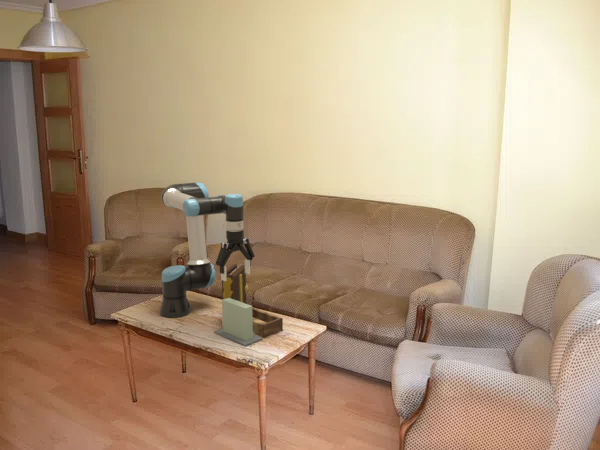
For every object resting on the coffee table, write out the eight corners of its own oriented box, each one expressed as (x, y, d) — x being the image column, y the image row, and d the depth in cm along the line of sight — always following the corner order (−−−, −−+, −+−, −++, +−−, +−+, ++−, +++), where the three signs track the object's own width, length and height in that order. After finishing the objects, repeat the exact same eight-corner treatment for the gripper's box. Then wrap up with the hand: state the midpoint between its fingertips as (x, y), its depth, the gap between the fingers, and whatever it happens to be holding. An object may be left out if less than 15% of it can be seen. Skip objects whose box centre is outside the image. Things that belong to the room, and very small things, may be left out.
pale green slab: (222, 331, 244) (221, 299, 241) (229, 328, 247) (228, 297, 244) (246, 340, 233) (245, 308, 230) (252, 338, 236) (252, 306, 233)
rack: (234, 325, 252) (234, 313, 251) (253, 319, 260) (252, 307, 259) (264, 337, 238) (264, 325, 237) (282, 330, 247) (282, 318, 246)
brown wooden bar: (238, 326, 251) (238, 315, 250) (243, 324, 254) (243, 313, 253) (262, 336, 240) (262, 325, 239) (268, 334, 243) (268, 322, 241)
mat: (213, 332, 244) (213, 331, 244) (230, 326, 251) (230, 325, 251) (245, 346, 229) (245, 344, 229) (262, 339, 237) (262, 338, 236)
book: (236, 327, 251) (235, 276, 246) (219, 325, 253) (218, 274, 248) (250, 310, 272) (249, 263, 267) (234, 309, 274) (233, 262, 269)
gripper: (217, 235, 219) (218, 285, 224) (261, 226, 237) (262, 272, 241) (206, 233, 224) (207, 281, 229) (250, 224, 242) (251, 269, 246)
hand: (235, 277), depth 235 cm, fingers open, 13 cm apart
